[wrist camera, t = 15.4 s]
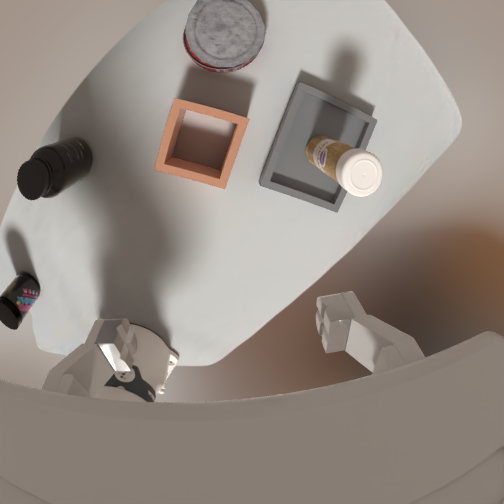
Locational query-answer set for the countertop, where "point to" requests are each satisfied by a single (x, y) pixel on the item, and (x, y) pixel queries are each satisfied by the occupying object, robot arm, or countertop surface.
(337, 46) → the countertop surface
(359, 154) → the sprinkles bottle
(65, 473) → the robot arm
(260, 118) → the countertop surface
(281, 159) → the charcoal tray
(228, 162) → the terracotta holder
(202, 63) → the canned food
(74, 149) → the supplement bottle
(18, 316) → the supplement container
